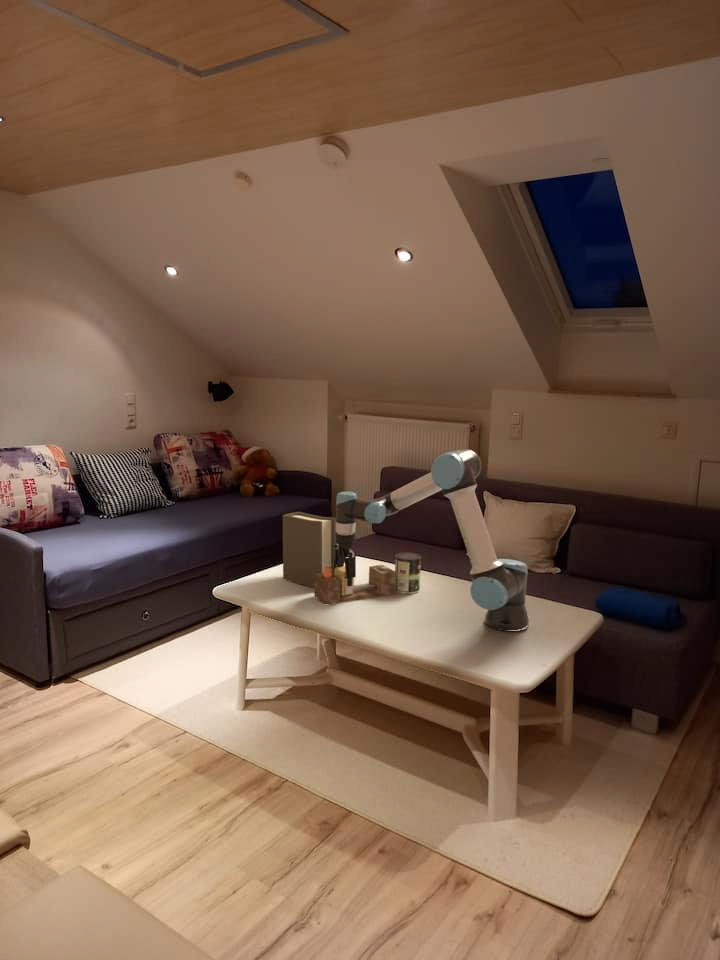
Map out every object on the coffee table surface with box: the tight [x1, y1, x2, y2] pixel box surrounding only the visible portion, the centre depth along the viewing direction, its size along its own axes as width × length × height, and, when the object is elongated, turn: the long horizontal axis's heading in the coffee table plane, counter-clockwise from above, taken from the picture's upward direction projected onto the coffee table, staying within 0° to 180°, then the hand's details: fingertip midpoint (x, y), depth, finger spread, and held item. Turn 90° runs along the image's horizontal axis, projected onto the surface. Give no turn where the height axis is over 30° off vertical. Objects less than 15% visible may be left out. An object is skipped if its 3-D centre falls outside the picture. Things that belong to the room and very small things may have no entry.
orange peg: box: [324, 567, 332, 579], centre depth 268 cm, size 3×3×6 cm
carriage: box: [335, 565, 355, 596], centre depth 272 cm, size 5×6×9 cm
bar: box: [340, 582, 376, 593], centre depth 275 cm, size 17×2×2 cm, turn 119°
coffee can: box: [394, 552, 422, 595], centre depth 282 cm, size 10×10×14 cm
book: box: [282, 511, 337, 590], centre depth 287 cm, size 22×9×28 cm, turn 50°
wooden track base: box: [313, 564, 396, 605], centre depth 275 cm, size 30×10×10 cm, turn 119°
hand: (344, 590), depth 273 cm, fingers closed on carriage, 6 cm apart
